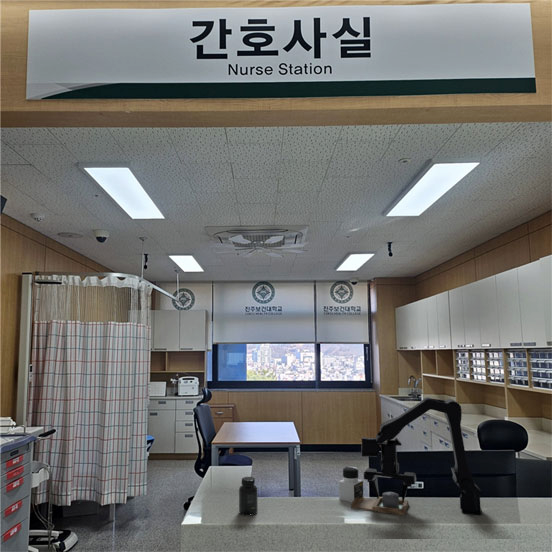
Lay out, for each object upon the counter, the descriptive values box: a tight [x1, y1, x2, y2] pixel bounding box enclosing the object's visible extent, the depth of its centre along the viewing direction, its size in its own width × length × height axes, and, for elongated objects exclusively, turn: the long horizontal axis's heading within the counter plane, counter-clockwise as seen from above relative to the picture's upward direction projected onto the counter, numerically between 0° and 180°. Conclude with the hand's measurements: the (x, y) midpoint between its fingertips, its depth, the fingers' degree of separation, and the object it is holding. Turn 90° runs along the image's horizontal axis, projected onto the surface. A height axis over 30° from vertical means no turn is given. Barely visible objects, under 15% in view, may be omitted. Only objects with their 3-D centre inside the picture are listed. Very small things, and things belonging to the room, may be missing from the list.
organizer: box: [350, 496, 409, 516], centre depth 183 cm, size 19×11×2 cm, turn 67°
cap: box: [381, 491, 400, 509], centre depth 182 cm, size 6×6×5 cm
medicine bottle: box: [338, 466, 364, 503], centre depth 193 cm, size 7×7×12 cm
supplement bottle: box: [238, 476, 259, 516], centre depth 179 cm, size 7×7×12 cm
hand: (390, 499), depth 182 cm, fingers open, 9 cm apart
